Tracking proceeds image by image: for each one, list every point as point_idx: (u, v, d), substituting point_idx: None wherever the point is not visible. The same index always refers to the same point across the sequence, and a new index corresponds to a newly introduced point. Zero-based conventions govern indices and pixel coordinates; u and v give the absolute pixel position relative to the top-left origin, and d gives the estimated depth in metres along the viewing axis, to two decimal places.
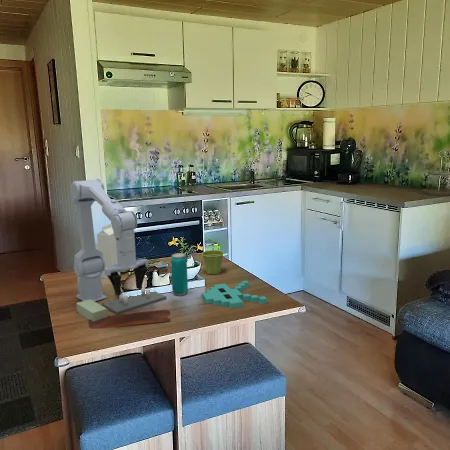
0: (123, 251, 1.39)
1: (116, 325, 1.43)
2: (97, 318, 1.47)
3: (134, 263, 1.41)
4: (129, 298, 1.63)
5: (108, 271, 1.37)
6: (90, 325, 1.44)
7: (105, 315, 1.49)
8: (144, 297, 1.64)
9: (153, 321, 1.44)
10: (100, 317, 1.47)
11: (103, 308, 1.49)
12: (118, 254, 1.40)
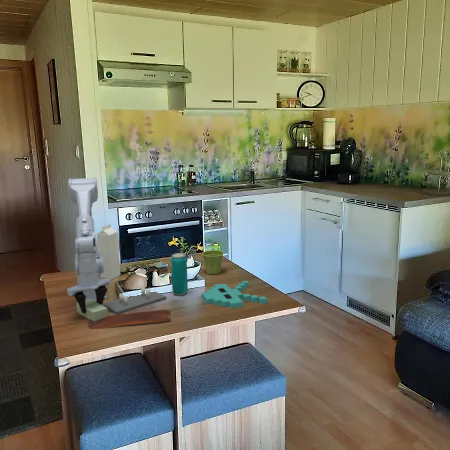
0: (81, 272, 1.46)
1: (116, 325, 1.42)
2: (98, 318, 1.47)
3: (96, 283, 1.49)
4: (129, 298, 1.63)
5: (70, 292, 1.45)
6: (90, 325, 1.44)
7: (106, 315, 1.49)
8: (144, 297, 1.64)
9: (153, 321, 1.44)
10: (101, 317, 1.47)
11: (104, 308, 1.49)
12: (80, 275, 1.47)
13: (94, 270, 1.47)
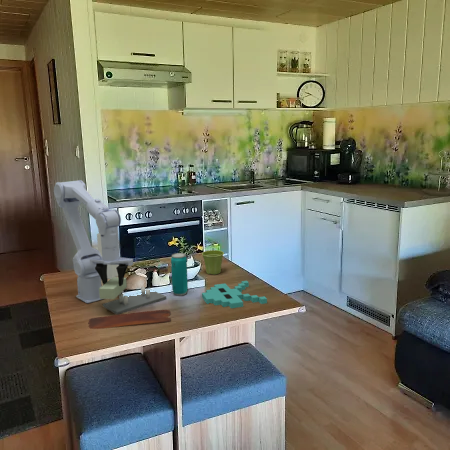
0: (108, 247, 1.49)
1: (117, 325, 1.43)
2: (103, 295, 1.50)
3: (111, 260, 1.50)
4: (129, 298, 1.63)
5: (90, 261, 1.53)
6: (91, 325, 1.44)
7: (112, 295, 1.49)
8: (144, 297, 1.64)
9: (154, 321, 1.44)
10: (106, 295, 1.50)
11: (112, 288, 1.50)
12: None
13: (118, 244, 1.52)
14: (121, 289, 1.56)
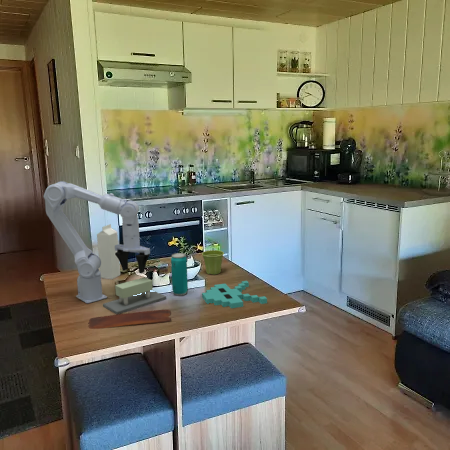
0: (135, 234, 1.60)
1: (117, 324, 1.43)
2: (117, 292, 1.57)
3: (129, 247, 1.60)
4: (129, 298, 1.63)
5: (115, 247, 1.66)
6: (91, 324, 1.44)
7: (122, 294, 1.55)
8: (144, 297, 1.64)
9: (154, 321, 1.44)
10: (119, 293, 1.57)
11: (124, 287, 1.55)
12: None
13: None
14: (140, 290, 1.59)
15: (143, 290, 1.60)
